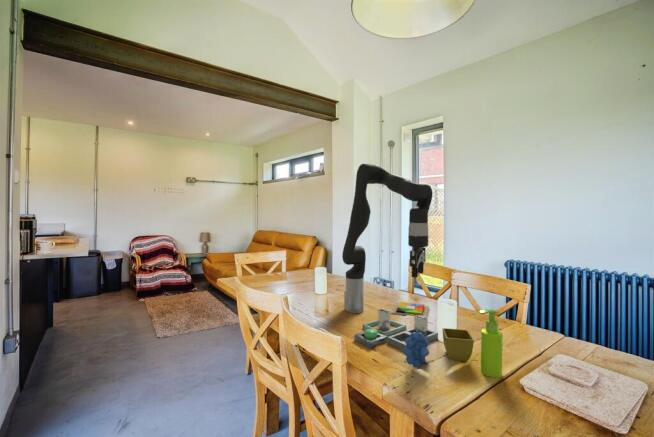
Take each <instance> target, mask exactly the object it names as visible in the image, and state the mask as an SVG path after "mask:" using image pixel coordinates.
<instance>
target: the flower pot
mask: <svg viewBox="0 0 654 437" xmlns="http://www.w3.org/2000/svg"><path fill="white" fill-rule="evenodd" d="M442 338H443V340H442V341H443V346H444V349H445V351H446V354H447V357H448V359H449V360H455V361H456V360H457V361H460V363H464V364H465V363H468V362H469V360H470V359H471V357H472V354H473V350H474V349H473V348H474V342H475V339H474V337H473V336H472V335H471V333H470V332H469V330H468V329H458V328H446V327H444V328H442Z"/></svg>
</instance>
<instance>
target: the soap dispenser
mask: <svg viewBox="0 0 654 437" xmlns="http://www.w3.org/2000/svg"><path fill="white" fill-rule="evenodd" d="M478 313H480V314H481V315H485V314H488V318H487V319H485V328H482V329H481V331H480V332H481V336H480V342H481V343H480V372H481V373H482V374H483V375H485V376H487V375H488V376H487V377H489V376H490V378H495V377H496V378H501V377H502V376H503V375H502V374H503V372H502V370H503V332H501V331H500V330H499V322H498V320H496V314H499V311H497V310H496V309H490V308H489V309H488V308H487V309H485V308H484V309H481V310H478Z"/></svg>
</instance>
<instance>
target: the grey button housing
mask: <svg viewBox="0 0 654 437" xmlns="http://www.w3.org/2000/svg"><path fill="white" fill-rule="evenodd" d="M353 337H354V338H353V339H354V341H355V342H357V343H359V344H361V345H363V346H365V347H366V348H369V349H373V348H376V347H377V346H379V345H382V344H384V343H388V337H389V336H385V335H383V334H380V333H378V332H377V338H375V339H373V340H369V339H367V338H365V337H364V331H362V332H359V333H358V332H357V333H355V334H354V336H353Z"/></svg>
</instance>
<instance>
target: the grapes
mask: <svg viewBox="0 0 654 437" xmlns="http://www.w3.org/2000/svg"><path fill="white" fill-rule="evenodd" d="M410 337H411V338H407V339H406V340H405V344H406V346H408V347H405V348H404V350H402V352H403V354H404V356H405V361H406V363H407V364H408V365H409V366H411V365H412V367H413V368H416V369H417V368H418V367H419V366H421V364H425V363H426V362H427V360H426V357H428V356H429V355H430V350H429V349H428V348H427V347H429V344H430V342H429V343H428V341H427V339H425V337H424V334H423V333H421V332H419V333H416V332H412V333H411V334H410Z"/></svg>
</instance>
